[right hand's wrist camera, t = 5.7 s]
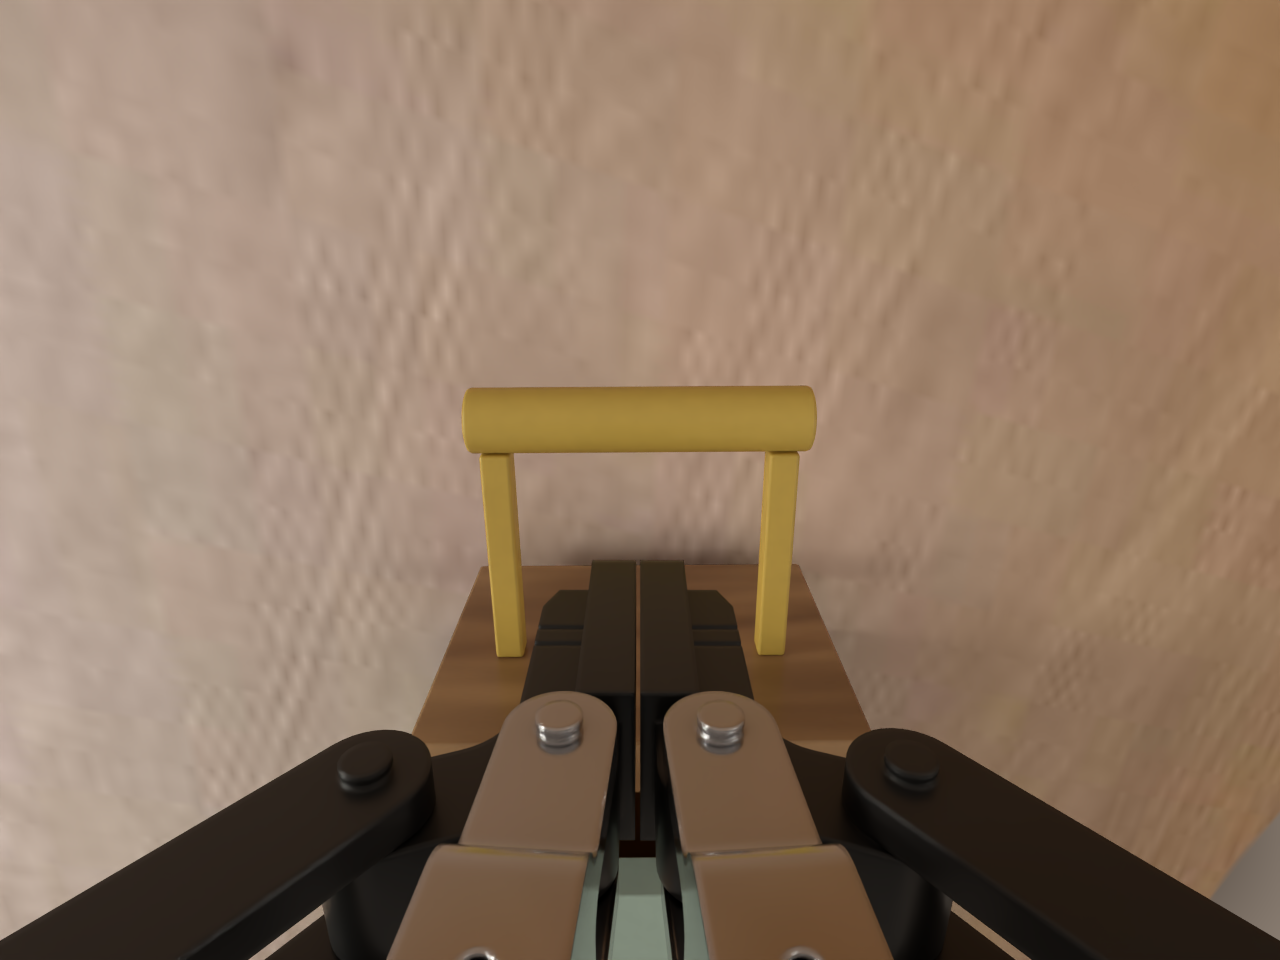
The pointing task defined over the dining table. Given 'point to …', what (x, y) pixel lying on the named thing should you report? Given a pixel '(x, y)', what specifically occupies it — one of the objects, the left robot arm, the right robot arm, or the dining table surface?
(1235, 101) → the dining table surface
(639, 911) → the cabinet
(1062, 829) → the right robot arm
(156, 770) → the dining table surface
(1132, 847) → the dining table surface
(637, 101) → the dining table surface
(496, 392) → the drawer
